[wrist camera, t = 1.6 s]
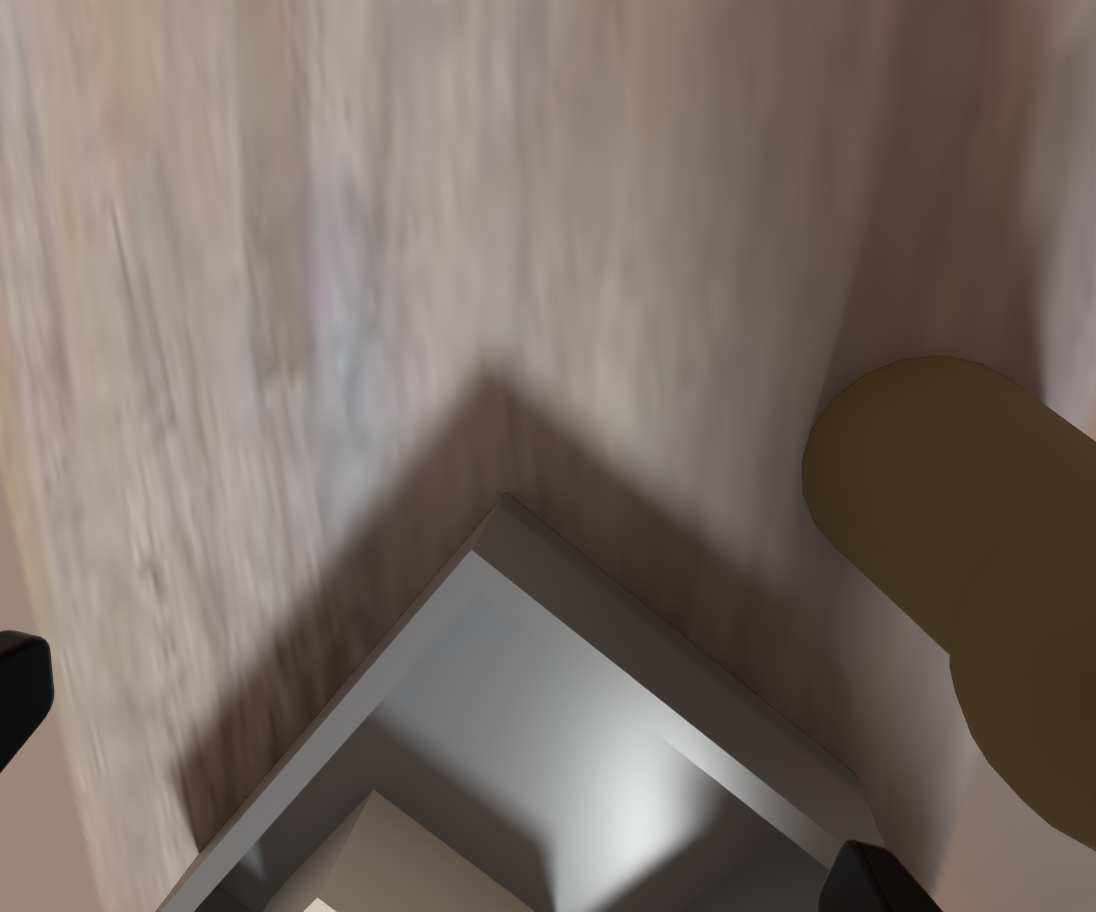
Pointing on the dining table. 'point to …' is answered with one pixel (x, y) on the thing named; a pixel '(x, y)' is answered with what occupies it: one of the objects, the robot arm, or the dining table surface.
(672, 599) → the dining table surface
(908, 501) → the olive tall rounded piece
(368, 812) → the cream beveled block
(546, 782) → the tray
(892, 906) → the robot arm
